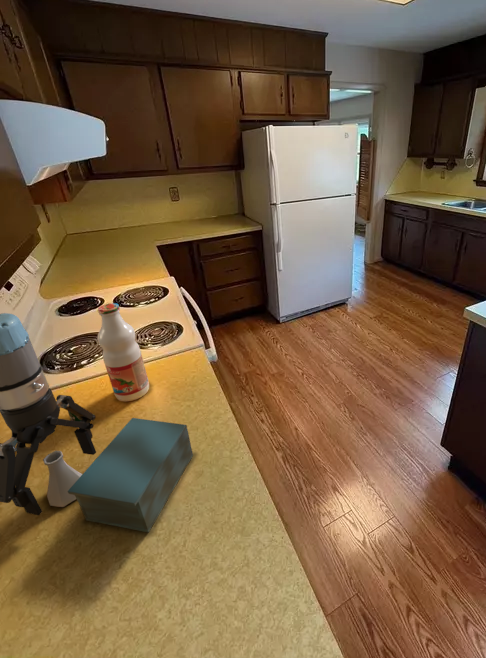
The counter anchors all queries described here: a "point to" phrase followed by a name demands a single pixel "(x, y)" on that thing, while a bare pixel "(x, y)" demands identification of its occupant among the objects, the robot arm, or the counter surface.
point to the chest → (151, 499)
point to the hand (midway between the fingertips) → (64, 480)
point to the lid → (129, 462)
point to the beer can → (74, 417)
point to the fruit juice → (121, 355)
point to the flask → (60, 479)
